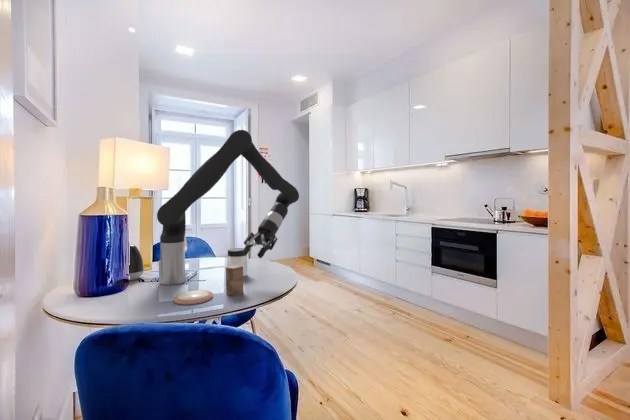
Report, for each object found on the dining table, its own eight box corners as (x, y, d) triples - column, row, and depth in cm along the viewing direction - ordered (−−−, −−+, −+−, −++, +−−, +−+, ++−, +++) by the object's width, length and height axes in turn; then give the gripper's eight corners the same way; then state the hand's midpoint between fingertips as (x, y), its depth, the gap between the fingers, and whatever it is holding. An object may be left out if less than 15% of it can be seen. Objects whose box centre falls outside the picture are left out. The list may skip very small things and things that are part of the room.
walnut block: (226, 293, 118) (225, 267, 118) (235, 290, 122) (235, 265, 121) (234, 295, 116) (233, 268, 115) (243, 292, 119) (243, 266, 119)
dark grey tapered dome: (112, 279, 139) (111, 245, 138) (137, 274, 147) (136, 242, 147) (124, 283, 133) (122, 247, 132) (148, 278, 141) (147, 244, 141)
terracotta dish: (165, 303, 108) (165, 300, 108) (187, 292, 121) (187, 288, 121) (200, 305, 106) (200, 302, 106) (219, 293, 118) (219, 290, 118)
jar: (225, 274, 146) (224, 249, 146) (241, 272, 151) (241, 247, 151) (232, 279, 139) (231, 251, 139) (249, 276, 144) (249, 249, 143)
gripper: (254, 217, 136) (233, 248, 127) (279, 219, 128) (259, 251, 119) (263, 229, 141) (243, 259, 132) (288, 231, 132) (269, 263, 124)
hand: (251, 255), depth 125 cm, fingers open, 8 cm apart
